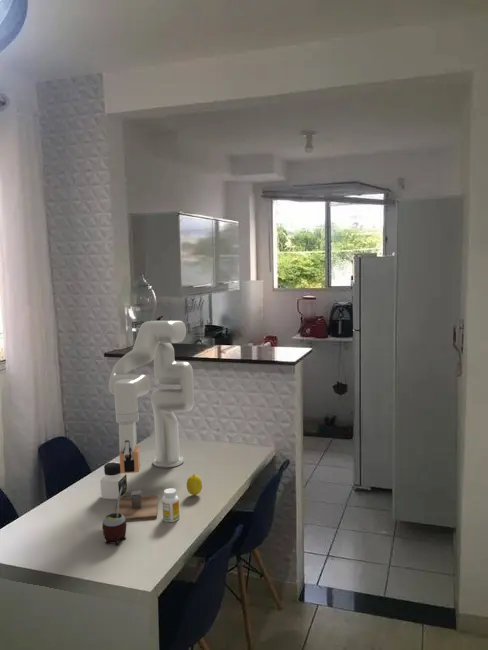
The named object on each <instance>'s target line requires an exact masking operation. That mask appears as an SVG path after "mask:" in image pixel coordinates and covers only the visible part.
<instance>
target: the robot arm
mask: <svg viewBox="0 0 488 650" xmlns="http://www.w3.org/2000/svg"><path fill="white" fill-rule="evenodd" d="M186 336H187V327H186V324H185V322H183V320H147V321H145V322H143V323H142V324H141V326H139V330H138V332H137V335H136V339H135V340H134V341H135V342H134V343H133V344H134V345H133V347H132V349H131V350H130V351H128V352H127V353H126V354H124V355H123V356H122V357H121V358H120V359H118V361H116V363H115V364H114V366H113V367H112V371H111V373H110V376H109V380H108V391H109V392H110V393H111V394H112V395H113V396H114V406H115V409H114V410H115V422H116V423H117V424H118V442H119V444H118V445H119V453H122V452H123V450H124V468H125V472H134V470H135V469H134V460H133V451H134V450H135V447H136V446H137V424H136V423H137V422H139V420H140V414H139V401H138V398H141V397H144V396H146V395H147V394H149V392H150V390H151V389H152V382H151V378H150V377H149V376H148V375H146V374H144V373H143V374H142V373H135V374H134V373H129V372H130V371H132V370H134V369H137V368H140V367H143V366H145V365H148V364H149V363H151V362H153V372H154V373H153V375H154V377H153V378H154V381H155V383H156V384H157V385H161V386H170V385H171V386H180V387H160V388H157V389H155V390H153V391H152V393H151V395H150V401H151V407H152V411H153V418H154V432H155V433H154V434H155V435H154V437H155V448H156V449H155V450H156V452H155V453H156V454H155V455H156V457H155V458H154V459H152V460H153V461H152V464H153V465H154V466H155V467H157V468H164V469H168V468H173V467H177V466H178V467H179V466H180V465H181V464H183V462H184V461H185V460H184V456H182V455H181V454H180V435H179V434H180V433H179V421H178V419H177V416H176V414H175V412H178V413H180V412H181V413H182V412H190V411H192V410H193V408H194V406H195V391H194V390H195V386H194V382H195V381H194V379H195V378H194V369H193V367H192V365H191V363H190V362H188V361H176V360H175V348H174V346H173V344H177V343H178V344H179V343H182V342H183V341H184V340H185V338H186ZM129 449H131V451H129ZM129 453H131V455H129Z"/></svg>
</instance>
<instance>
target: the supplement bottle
mask: <svg viewBox="0 0 488 650" xmlns="http://www.w3.org/2000/svg"><path fill="white" fill-rule="evenodd" d="M161 504H162V519H163V521H165V522H167V523H172V522H173V523H174V522H177V521H179V519H180V500H179V496H178V495H177V489H176V488H173V487H171V488H166V489H164V490H163V497H162V498H161Z"/></svg>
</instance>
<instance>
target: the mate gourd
mask: <svg viewBox="0 0 488 650" xmlns="http://www.w3.org/2000/svg"><path fill="white" fill-rule="evenodd" d="M122 488H123V487H121V489H120V492H119V496H118V499H117V503H118V506H117V505H116V507H117V513H115V512H112V513H109V514H106V515H105V517H104V519H103V520H102V533H103V537H104V540H105V541H104V543H105V545H108V544H112V543H114V544H115V546H116V547H118V546H120V545H119V542H121V541H124V540H126V539H127V537H126V533H127V521H126V520H125V517H124V516H123V515H122V514H120V513H119V503H120V495H121V491H122Z"/></svg>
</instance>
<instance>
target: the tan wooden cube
mask: <svg viewBox="0 0 488 650" xmlns="http://www.w3.org/2000/svg"><path fill="white" fill-rule="evenodd" d="M129 451H131V449H129ZM118 454H119V463H120V470H121V473H126V474H131V473H132V474H135V473H140V470H141V454H140V445H136V447H135V450H134V451H133V460H134V469H135V470H134V472H125V468H124V450H123V452H122V453H120V452H119V453H118ZM129 455H131V453H129Z"/></svg>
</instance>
